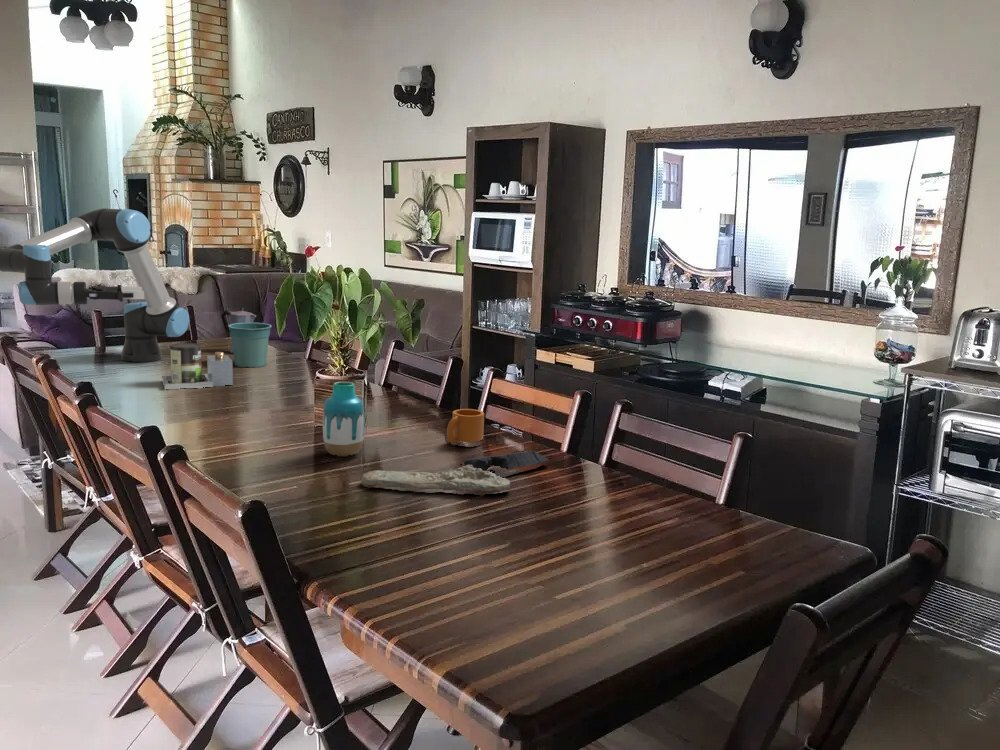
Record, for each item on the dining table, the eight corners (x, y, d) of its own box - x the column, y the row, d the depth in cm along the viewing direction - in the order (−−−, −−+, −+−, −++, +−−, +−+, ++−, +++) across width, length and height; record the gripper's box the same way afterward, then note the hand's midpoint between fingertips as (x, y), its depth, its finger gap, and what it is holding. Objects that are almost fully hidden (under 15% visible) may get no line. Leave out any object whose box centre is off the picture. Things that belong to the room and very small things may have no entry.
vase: (327, 462, 205) (327, 388, 201) (319, 451, 214) (319, 380, 211) (368, 459, 209) (369, 386, 205) (358, 448, 219) (359, 378, 215)
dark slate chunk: (557, 471, 208) (558, 453, 207) (485, 484, 195) (485, 465, 194) (522, 455, 220) (523, 438, 219) (452, 466, 208) (453, 448, 207)
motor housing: (161, 381, 289) (160, 350, 287) (227, 378, 299) (226, 348, 297) (165, 390, 276) (163, 358, 274) (233, 386, 286) (232, 355, 283)
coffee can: (206, 382, 291) (205, 343, 288) (195, 388, 281) (194, 348, 278) (178, 380, 291) (176, 342, 288) (166, 386, 281) (164, 346, 278)
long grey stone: (366, 483, 196) (357, 499, 186) (365, 462, 194) (356, 478, 185) (511, 483, 194) (509, 500, 184) (511, 463, 193) (509, 478, 183)
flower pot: (271, 369, 319) (271, 328, 316) (227, 369, 315) (226, 328, 312) (272, 361, 335) (272, 322, 332) (230, 361, 331) (230, 322, 328)
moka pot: (253, 355, 346) (252, 308, 342) (217, 354, 346) (216, 307, 342) (260, 351, 355) (259, 306, 351) (225, 350, 355) (224, 305, 351)
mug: (435, 443, 227) (436, 411, 225) (471, 438, 234) (472, 407, 232) (452, 450, 220) (453, 418, 218) (489, 445, 227) (490, 414, 225)
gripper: (74, 300, 280) (141, 299, 289) (73, 308, 258) (145, 308, 267) (73, 278, 278) (140, 278, 288) (71, 285, 257) (144, 285, 266)
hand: (143, 292), depth 278 cm, fingers open, 13 cm apart
